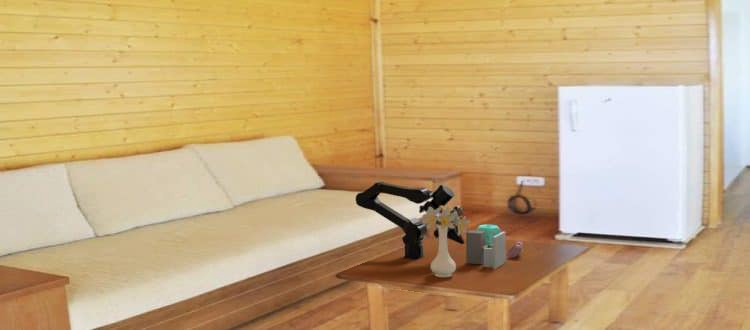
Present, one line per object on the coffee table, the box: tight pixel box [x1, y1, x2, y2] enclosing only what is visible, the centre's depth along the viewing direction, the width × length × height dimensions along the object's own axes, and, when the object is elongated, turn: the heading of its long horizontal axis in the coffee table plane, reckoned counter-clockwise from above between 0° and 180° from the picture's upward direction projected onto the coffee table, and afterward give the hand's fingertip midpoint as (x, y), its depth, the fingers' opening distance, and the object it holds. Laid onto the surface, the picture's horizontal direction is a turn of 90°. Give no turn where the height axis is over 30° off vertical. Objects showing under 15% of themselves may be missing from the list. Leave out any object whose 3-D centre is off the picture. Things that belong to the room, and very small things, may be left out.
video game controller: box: [507, 241, 524, 259], centre depth 342 cm, size 10×5×7 cm, turn 169°
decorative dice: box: [475, 224, 502, 248], centre depth 364 cm, size 8×8×8 cm
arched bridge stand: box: [483, 231, 507, 270], centre depth 327 cm, size 5×12×12 cm, turn 152°
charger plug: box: [465, 229, 489, 265], centre depth 330 cm, size 8×5×12 cm, turn 62°
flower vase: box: [421, 206, 471, 278], centre depth 311 cm, size 13×18×25 cm
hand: (463, 243), depth 332 cm, fingers closed
